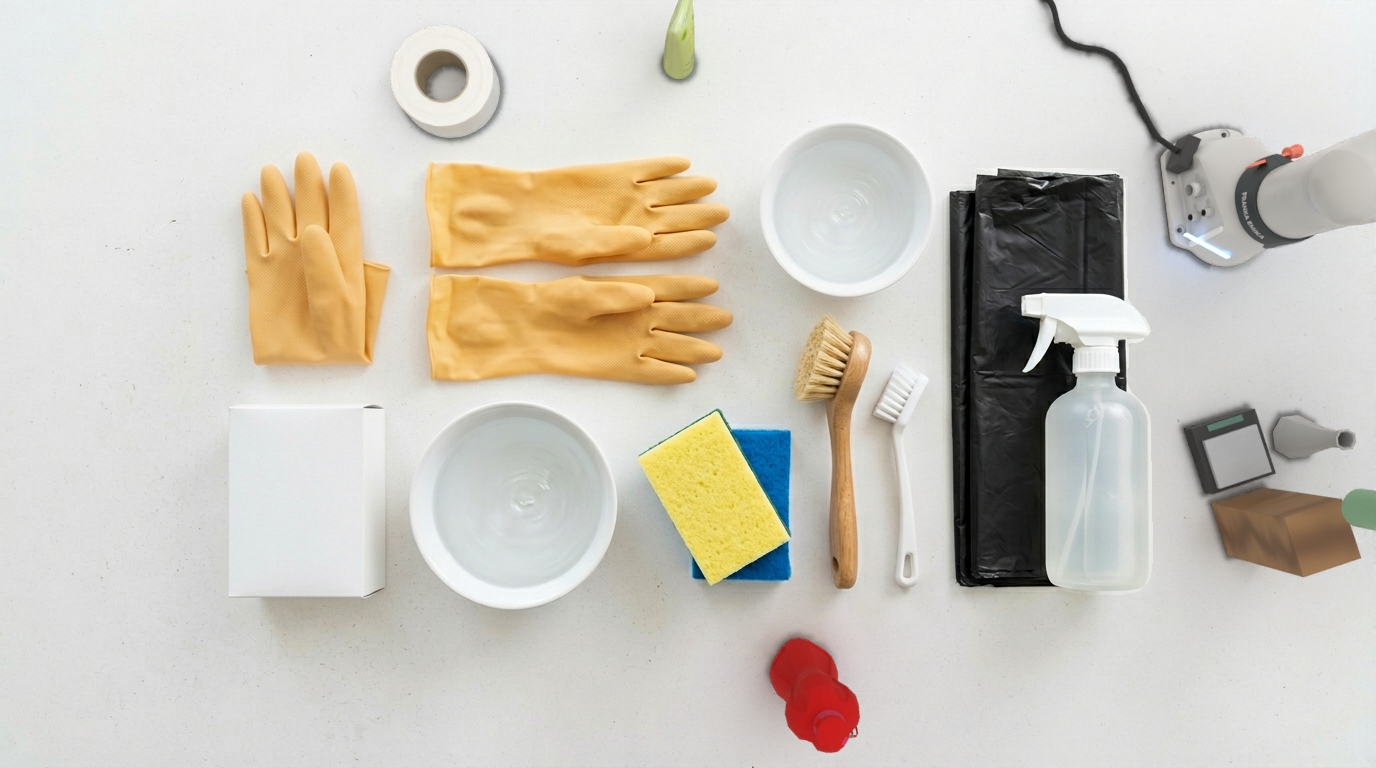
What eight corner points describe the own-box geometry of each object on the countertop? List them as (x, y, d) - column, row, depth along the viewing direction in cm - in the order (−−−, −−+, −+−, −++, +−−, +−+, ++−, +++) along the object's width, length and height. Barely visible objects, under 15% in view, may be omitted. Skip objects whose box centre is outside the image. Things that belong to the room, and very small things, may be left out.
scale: (1183, 428, 126) (1194, 429, 123) (1245, 408, 126) (1257, 408, 123) (1204, 492, 126) (1215, 494, 123) (1266, 472, 126) (1279, 473, 123)
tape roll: (493, 35, 124) (485, 18, 118) (506, 131, 124) (498, 119, 118) (396, 47, 123) (383, 30, 118) (408, 143, 123) (396, 131, 118)
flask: (1309, 462, 126) (1365, 468, 116) (1267, 453, 126) (1319, 458, 116) (1317, 419, 126) (1373, 421, 116) (1275, 410, 126) (1327, 411, 116)
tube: (700, 76, 125) (706, 16, 105) (671, 88, 125) (672, 31, 105) (686, 44, 125) (689, -22, 105) (657, 56, 125) (656, -7, 105)
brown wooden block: (1210, 503, 126) (1284, 517, 111) (1261, 486, 126) (1342, 498, 111) (1227, 556, 125) (1303, 577, 110) (1279, 539, 126) (1361, 558, 111)
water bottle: (818, 713, 123) (857, 792, 98) (760, 677, 123) (784, 747, 98) (849, 663, 123) (895, 730, 98) (791, 627, 123) (822, 685, 98)
